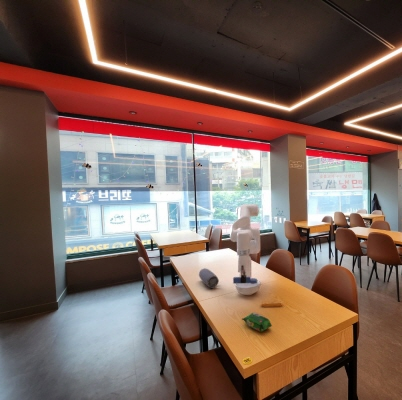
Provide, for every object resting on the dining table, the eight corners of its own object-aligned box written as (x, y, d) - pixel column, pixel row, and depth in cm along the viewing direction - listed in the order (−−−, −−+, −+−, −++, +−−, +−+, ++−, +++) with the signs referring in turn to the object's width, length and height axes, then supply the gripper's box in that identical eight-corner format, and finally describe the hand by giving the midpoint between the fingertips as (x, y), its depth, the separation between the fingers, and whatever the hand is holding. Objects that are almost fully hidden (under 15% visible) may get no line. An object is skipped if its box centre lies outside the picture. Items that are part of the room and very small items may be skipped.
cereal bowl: (250, 286, 169) (250, 276, 169) (265, 292, 157) (265, 282, 157) (231, 293, 157) (230, 282, 157) (245, 300, 145) (245, 289, 145)
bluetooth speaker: (219, 287, 166) (219, 274, 166) (206, 290, 161) (206, 276, 161) (209, 278, 185) (209, 266, 185) (198, 281, 180) (198, 268, 180)
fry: (261, 306, 137) (261, 303, 137) (261, 305, 139) (261, 302, 139) (281, 306, 137) (281, 303, 137) (281, 304, 139) (281, 301, 139)
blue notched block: (232, 284, 135) (232, 278, 135) (234, 281, 139) (234, 276, 139) (256, 283, 136) (256, 278, 136) (257, 281, 140) (257, 275, 140)
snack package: (250, 318, 123) (250, 309, 123) (272, 328, 113) (272, 318, 113) (241, 324, 118) (240, 314, 118) (263, 335, 108) (263, 324, 108)
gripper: (238, 249, 145) (239, 277, 145) (235, 255, 129) (235, 287, 129) (250, 249, 145) (250, 277, 145) (248, 255, 130) (248, 287, 130)
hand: (243, 282), depth 137 cm, fingers closed on blue notched block, 2 cm apart
